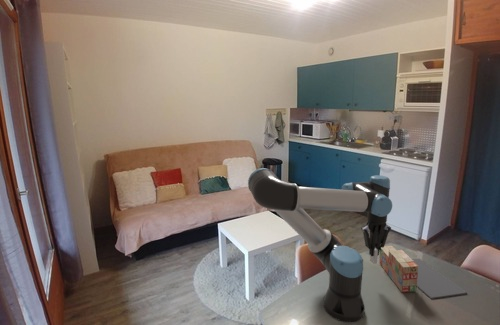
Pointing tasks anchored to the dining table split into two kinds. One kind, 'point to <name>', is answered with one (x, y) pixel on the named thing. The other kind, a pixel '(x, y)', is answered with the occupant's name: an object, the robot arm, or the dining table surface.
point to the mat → (435, 282)
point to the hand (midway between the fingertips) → (373, 261)
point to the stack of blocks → (399, 268)
